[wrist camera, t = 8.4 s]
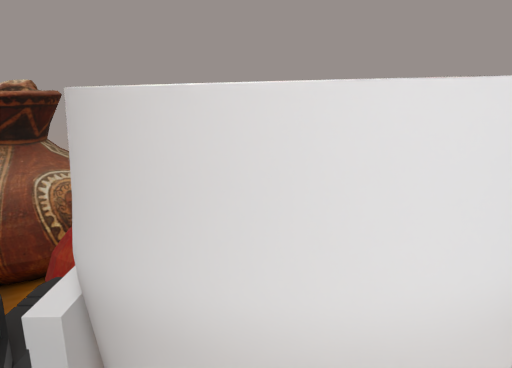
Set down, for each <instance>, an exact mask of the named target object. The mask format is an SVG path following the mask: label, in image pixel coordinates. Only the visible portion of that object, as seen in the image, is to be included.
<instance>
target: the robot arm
mask: <svg viewBox="0 0 512 368" xmlns="http://www.w3.org/2000/svg"><path fill="white" fill-rule="evenodd" d="M0 368H104V365H103V361H102V358H101V355H100V351H99V348H98V345H97V341H96V338H95V334H94V331H93V328H92V324H91V321H90V317H89V314H88V311H87V307H86V304H85V300H84V297H83V294H82V290H81V287H80V283H79V280H78V275H77V270H76V266H74V267H73V268H72V269H71V270H70V271H69V272H68V273H67V274H66V275H65V276H64V277H55V278H53V279H51V280H49V281H47V282H45V283H43V284H41V285H39V286H38V287H37V288H36V289H34V290H33V291H32V292H31V293H30V294H29V295H28V296H27V298H24V299H23V300H22V301H21V302H20V303H19V304H18V305H17V307H14V308H13V309H12V310H11V311H10V312H9V313H8V314H6V315H5V314H4V308H3V303H2V298H1V295H0ZM511 368H512V367H511Z"/></svg>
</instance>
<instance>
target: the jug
mask: <svg viewBox="0 0 512 368" xmlns="http://www.w3.org/2000/svg"><path fill="white" fill-rule="evenodd" d="M60 98H61V93H59V92H58V91H54V90H52V91H51V90H49V91H41V90H38V89H37V87H36V85H35V84H34V83H33V82H32V81H31V80H11V81H6V82H2V83H0V285H6V284H13V283H19V282H24V281H30V280H35V279H38V278H41V277H45V276H46V274H47V270H48V266H49V262H50V258H51V254H52V252H53V250H54V249H55V247H56V246H57V244H58V243H59V242H60V240H61V239H62V237H63V236H64V235H65V233H66V232H67V231H68V229H69V228H71V227H72V190H71V174H70V158H69V151H67V150H65V149H62V148H60V147H58V146H57V145H56V144H54V143H52V142H51V141H50V140H48V139H47V136H48V131H49V126H50V122H51V120H52V118H53V115H54V113H55V110H56V107H57V105H58V103H59V100H60Z"/></svg>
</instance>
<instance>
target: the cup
mask: <svg viewBox="0 0 512 368" xmlns="http://www.w3.org/2000/svg"><path fill="white" fill-rule="evenodd" d="M64 94H65V106H66V119H67V131H68V143H69V158H70V174H71V190H72V238H73V256H74V261H75V266H76V270H77V275H78V280H79V283H80V287H81V290H82V294H83V297H84V300H85V304H86V307H87V311H88V314H89V317H90V321H91V324H92V328H93V331H94V334H95V338H96V341H97V345H98V348H99V351H100V355H101V358H102V361H103V365H104V368H511V367H512V75H502V76H463V77H462V76H460V77H421V78H382V79H381V78H380V79H345V80H344V79H341V80H304V81H269V82H267V81H266V82H229V83H193V84H158V85H125V86H90V87H64Z"/></svg>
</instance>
